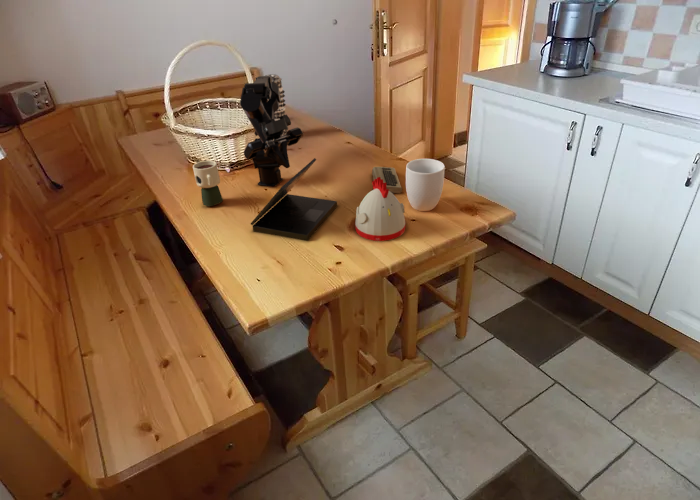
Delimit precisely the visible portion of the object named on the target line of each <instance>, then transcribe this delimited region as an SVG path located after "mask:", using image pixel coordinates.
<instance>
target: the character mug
mask: <svg viewBox="0 0 700 500" xmlns="http://www.w3.org/2000/svg"><path fill="white" fill-rule="evenodd" d="M217 163H218V162H216V161H214V160H208V159H207V160H201V161H198V162H196V163H194V164H193V165H192V171H193V175H194V179H195V180H194V181H195V183H196V187H198V188H200V191H201V201H202V205H203V206H205V207H212V206H216V205H218V204H219V205H220V203H222V202H223V201H224V199H223V196H222V193H221V190H220V188H219V186H218V185H220V184H221V178H220V173H219V168H218V167H217Z"/></svg>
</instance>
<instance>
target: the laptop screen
mask: <svg viewBox="0 0 700 500" xmlns="http://www.w3.org/2000/svg"><path fill="white" fill-rule="evenodd" d="M316 161H317V159H316V157H314V158H313V159H311V160H310V162H308V163H306V165H304V167H302V168H301V170H300V171H298V172H296V174H295V175H294V176H293V177H291V178H290V179H289V180H288V181H287V182H286V183H284V184H283V185H282V186H281V187H279V189H278V190H277V192H276V193H275V194H274V195H273V196H272V197H271V199H270V200H269V201H268V202H267V203H266V204H265V206H264V207H263V208H262V209H261V210H260V212H259V213H258V214H257V215H256V216H255V217H254V219H252V221H251V222H250V225H251V226H253V225H254V224H255V223H256V222H257V221H258V220H259V219H260V218H262V217H263V216H264V215H265V214H266V213H267V212H268V211H269V210H270V209H271V208H272V207H274V206H275V205H276V204H277V203H278V202H279V201H280V200H281V199H282V198H283V197H284V196H286V195H287V194H289V192H290V191H291V190H292V189H293V187H294V186H295V185H296V184H297V183H298V182H299V180H300V179H302V177H303V176H304V175H305V174H306V173H307V171H309V170H310V168H311V167H312V166H313V165H314V163H315V162H316Z"/></svg>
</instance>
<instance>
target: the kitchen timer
mask: <svg viewBox="0 0 700 500" xmlns="http://www.w3.org/2000/svg"><path fill="white" fill-rule="evenodd" d="M371 184H372V188H373V189H372V190H370V191H369V192H368V193H367V194H366V195H365V196H364V197H363V199H362V200H361V202H360V203H359V206H356V212H355V223H354V224H355V232H356V233H357V235H358V236H360V237H361V238H363V239H366V240H369V241H375V242H381V241H382V242H384V241H390V240H394V239H397V238H399V237H401V236H402V235H403V234H404V233H405V231H406V217H405V211H406V210H405V205H404V203H403V202H400V201H399V199H398V198H397V197H396V196H395V193H391V192H390V191H389V189H386V183H383V179H381V178H380V177H378V178H377V179H374V180H372V181H371Z"/></svg>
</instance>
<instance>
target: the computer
mask: <svg viewBox="0 0 700 500" xmlns="http://www.w3.org/2000/svg"><path fill="white" fill-rule="evenodd" d="M371 175H372V181H374V179H377V178H378V177H380V178H381V179H383V183H386V189H389V191H390V192H391V193H393V194H402V191H403V187H402V185H401V183H400V179H399V176H398V174H397V171H396V168H395V167H391V166H389V167H388V166H373V167H372V170H371Z"/></svg>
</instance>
